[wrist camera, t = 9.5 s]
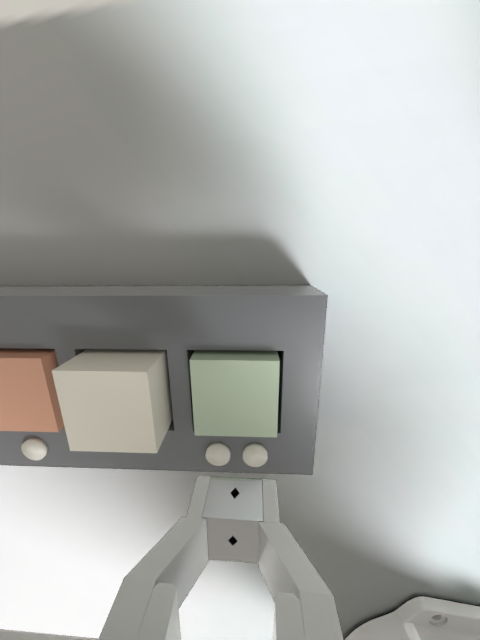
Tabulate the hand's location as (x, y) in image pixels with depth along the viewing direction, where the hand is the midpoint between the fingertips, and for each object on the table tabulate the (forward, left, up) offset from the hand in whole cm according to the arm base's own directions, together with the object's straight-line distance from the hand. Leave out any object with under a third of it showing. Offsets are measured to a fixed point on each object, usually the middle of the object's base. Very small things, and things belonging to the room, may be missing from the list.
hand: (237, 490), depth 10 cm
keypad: (+11, -1, -10) cm, 15 cm away
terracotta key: (+14, -1, -9) cm, 17 cm away
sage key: (0, -1, -9) cm, 9 cm away
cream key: (+7, -1, -8) cm, 11 cm away
